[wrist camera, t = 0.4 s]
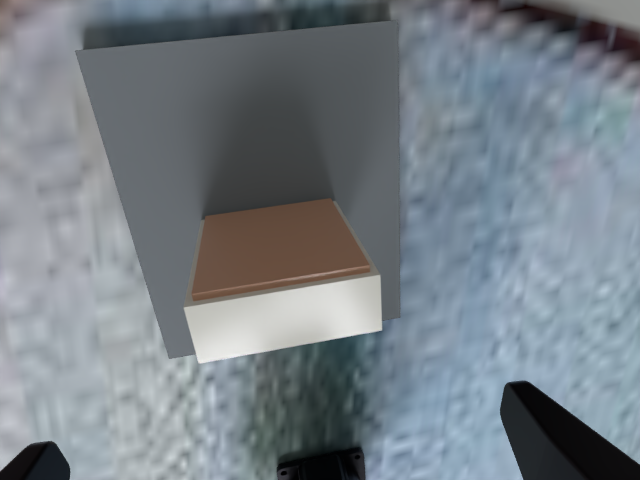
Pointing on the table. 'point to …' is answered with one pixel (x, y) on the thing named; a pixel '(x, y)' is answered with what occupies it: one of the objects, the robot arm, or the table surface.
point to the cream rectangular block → (279, 281)
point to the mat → (249, 142)
